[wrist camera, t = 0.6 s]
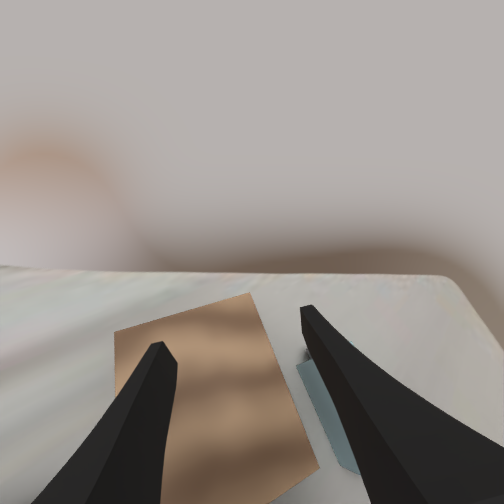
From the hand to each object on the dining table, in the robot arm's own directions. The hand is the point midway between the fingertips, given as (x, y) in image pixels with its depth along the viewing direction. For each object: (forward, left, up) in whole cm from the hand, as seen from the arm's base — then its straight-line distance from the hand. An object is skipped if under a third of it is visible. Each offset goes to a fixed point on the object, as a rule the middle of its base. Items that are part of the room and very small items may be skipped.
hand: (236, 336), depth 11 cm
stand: (-1, +2, -18) cm, 18 cm away
